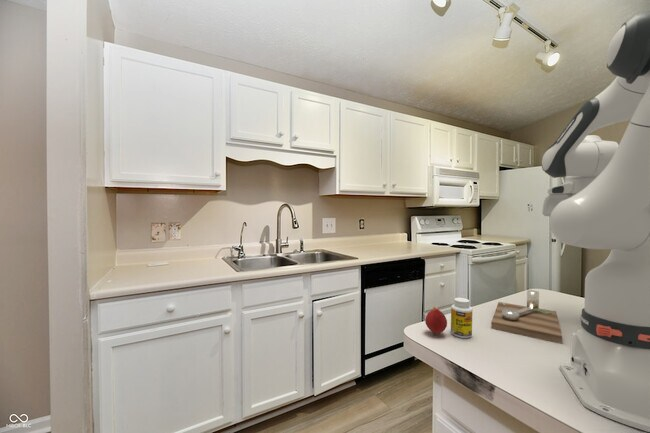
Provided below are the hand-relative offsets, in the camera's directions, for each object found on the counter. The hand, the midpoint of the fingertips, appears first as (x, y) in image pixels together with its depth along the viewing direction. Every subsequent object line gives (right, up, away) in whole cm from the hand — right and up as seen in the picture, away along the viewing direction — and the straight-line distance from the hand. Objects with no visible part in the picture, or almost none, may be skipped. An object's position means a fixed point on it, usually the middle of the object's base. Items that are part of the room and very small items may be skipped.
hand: (581, 231), depth 92 cm
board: (-19, -29, -1) cm, 35 cm away
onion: (-51, -30, -9) cm, 59 cm away
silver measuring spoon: (-20, -27, 0) cm, 33 cm away
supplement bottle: (-43, -30, -10) cm, 53 cm away
